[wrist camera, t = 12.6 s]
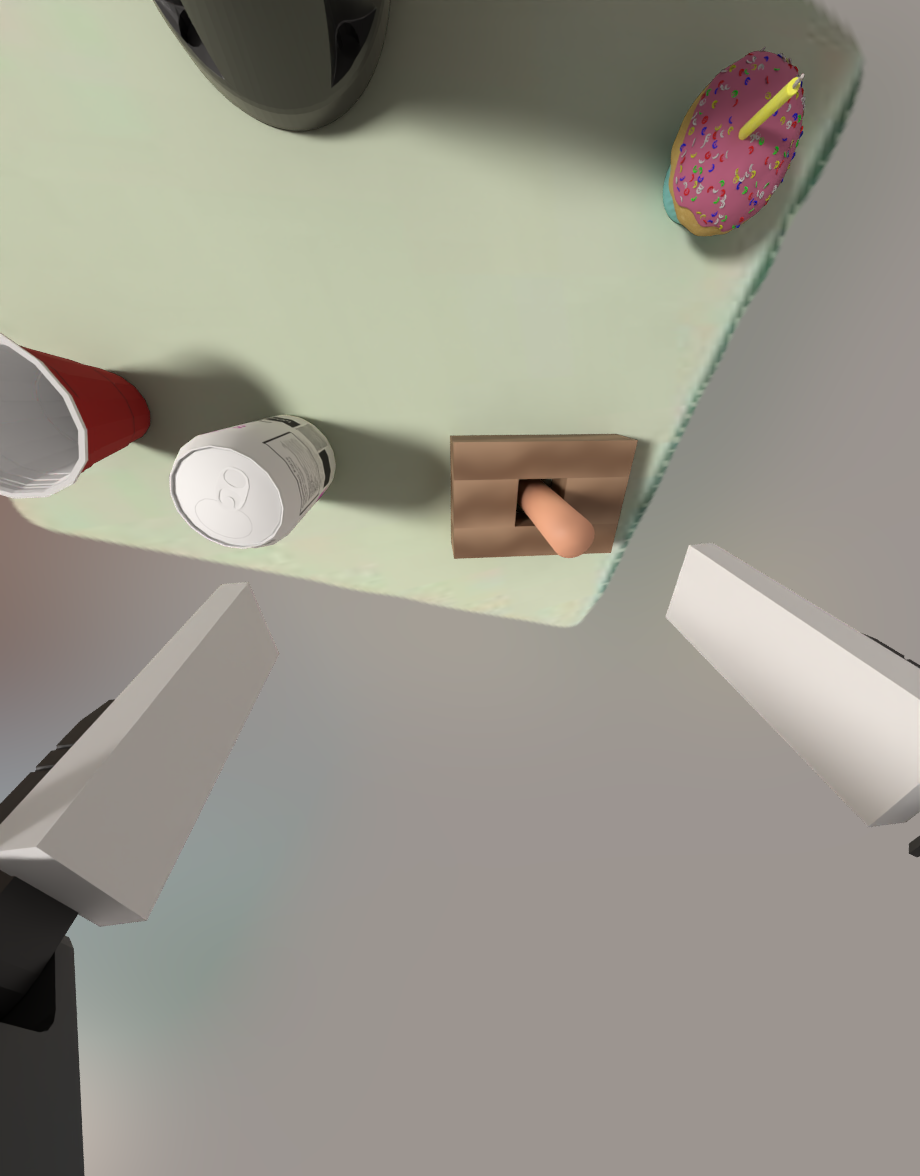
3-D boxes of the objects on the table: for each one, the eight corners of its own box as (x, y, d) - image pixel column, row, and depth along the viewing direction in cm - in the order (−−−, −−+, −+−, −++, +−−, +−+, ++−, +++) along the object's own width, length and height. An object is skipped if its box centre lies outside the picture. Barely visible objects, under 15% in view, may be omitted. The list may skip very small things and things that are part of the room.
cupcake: (632, 255, 31) (736, 195, 21) (651, 104, 27) (795, -68, 16) (726, 247, 31) (876, 183, 21) (761, 97, 27) (970, -77, 17)
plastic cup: (195, 384, 33) (91, 387, 22) (168, 485, 37) (70, 526, 27) (50, 300, 29) (-153, 258, 19) (38, 423, 33) (-135, 443, 23)
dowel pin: (514, 475, 40) (555, 518, 28) (545, 475, 40) (598, 517, 28) (512, 506, 42) (549, 558, 30) (541, 505, 42) (589, 557, 30)
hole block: (450, 435, 37) (453, 442, 33) (616, 434, 38) (637, 440, 35) (451, 542, 43) (454, 558, 39) (594, 537, 45) (610, 552, 41)
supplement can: (322, 510, 40) (274, 573, 27) (243, 473, 37) (149, 524, 24) (349, 442, 36) (309, 476, 24) (265, 396, 34) (169, 408, 21)
